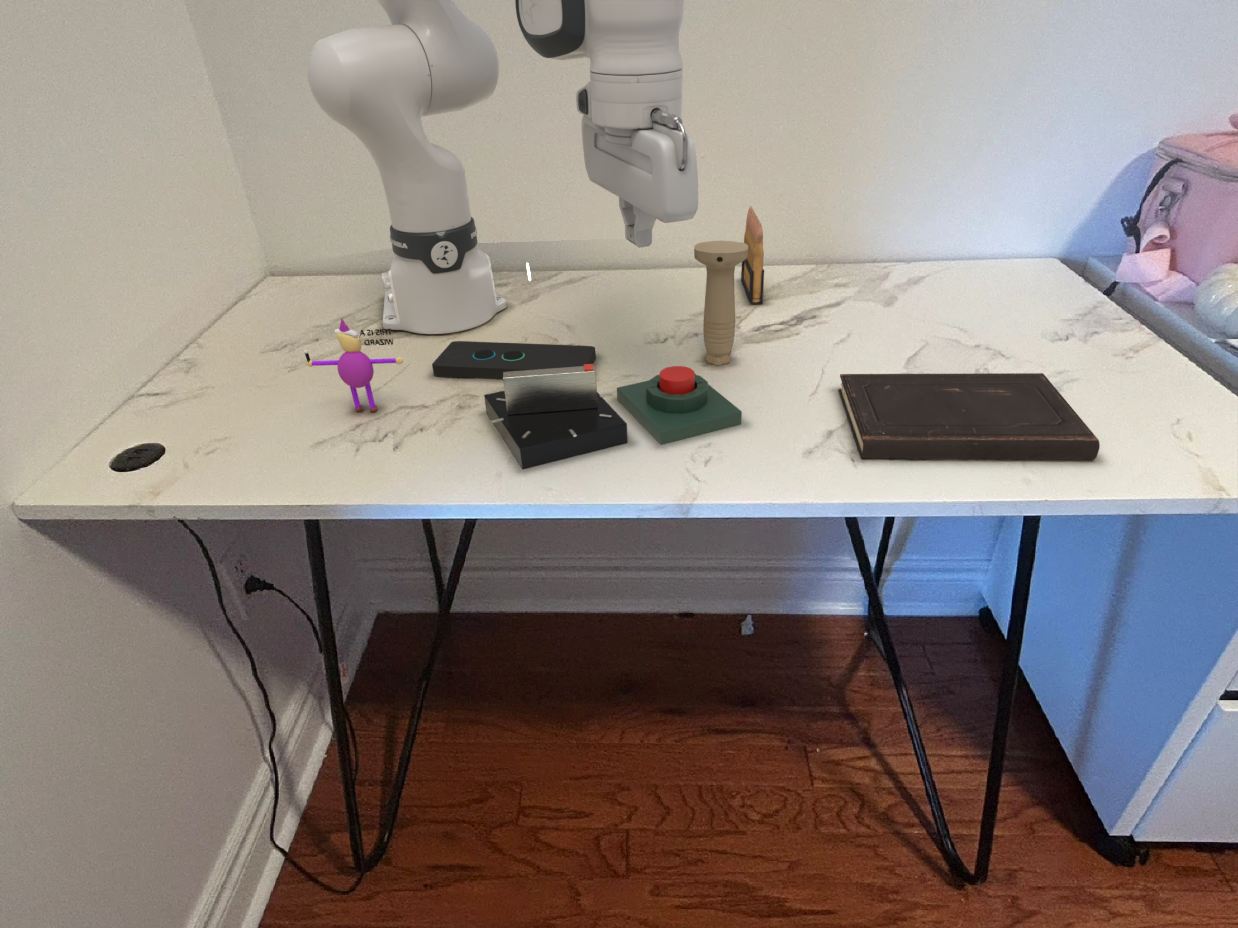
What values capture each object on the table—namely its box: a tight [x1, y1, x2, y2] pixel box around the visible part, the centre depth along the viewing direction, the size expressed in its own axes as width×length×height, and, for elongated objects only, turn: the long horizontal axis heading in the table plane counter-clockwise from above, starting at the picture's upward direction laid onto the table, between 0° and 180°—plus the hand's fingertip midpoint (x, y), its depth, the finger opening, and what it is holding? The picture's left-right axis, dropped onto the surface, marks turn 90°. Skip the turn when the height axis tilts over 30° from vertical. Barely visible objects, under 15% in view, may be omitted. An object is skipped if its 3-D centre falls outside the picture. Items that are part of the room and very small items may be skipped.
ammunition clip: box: [740, 206, 765, 305], centre depth 125 cm, size 11×2×12 cm, turn 0°
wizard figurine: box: [303, 317, 404, 413], centre depth 95 cm, size 11×3×12 cm, turn 89°
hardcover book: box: [838, 372, 1101, 460], centre depth 90 cm, size 16×23×2 cm
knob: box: [502, 363, 598, 415], centre depth 91 cm, size 10×2×5 cm, turn 95°
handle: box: [693, 240, 748, 367], centre depth 103 cm, size 5×6×15 cm
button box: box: [616, 373, 743, 446], centre depth 94 cm, size 12×10×4 cm
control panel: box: [483, 390, 628, 470], centre depth 93 cm, size 14×14×3 cm
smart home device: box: [431, 340, 597, 381], centre depth 107 cm, size 8×2×20 cm
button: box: [658, 365, 696, 394], centre depth 93 cm, size 4×4×2 cm
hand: (638, 243), depth 87 cm, fingers closed
